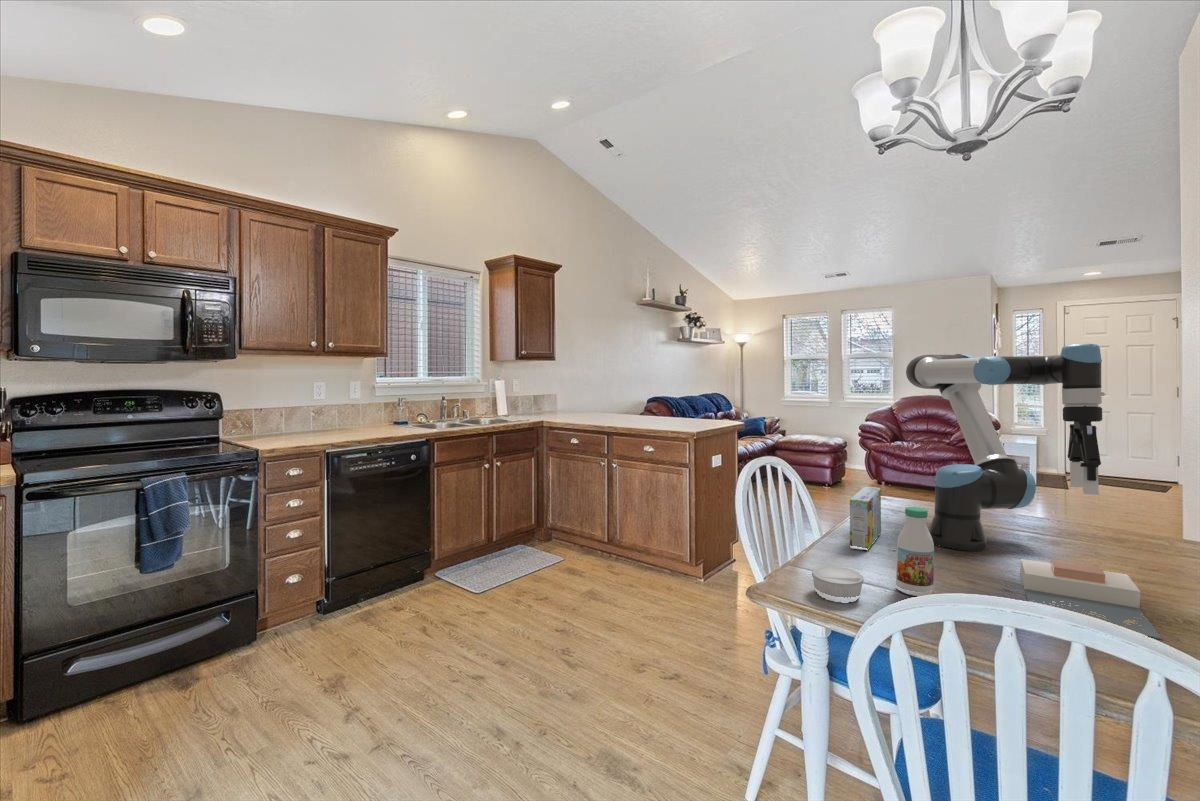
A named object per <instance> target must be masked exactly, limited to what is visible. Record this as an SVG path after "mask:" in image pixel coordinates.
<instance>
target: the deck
mask: <svg viewBox="0 0 1200 801" xmlns="http://www.w3.org/2000/svg"><path fill="white" fill-rule="evenodd" d="M1050 567H1051V562H1044V561H1038V560H1033V559H1032V560H1031V559H1025V558H1021V559H1020V573H1019V574H1020V579H1021V578H1022V579H1021V582H1022V585H1023V588H1024V590H1025V589H1029V590H1035V591H1041V592H1047V593H1053V594H1059V595H1065V596H1071V597H1077V598H1083V599H1088V600H1094V601H1100V602H1106V603H1112V604H1118V605H1124V606H1130V607H1136V608H1140V607H1141V606H1140V605H1141V590H1140V589H1139V588H1138V586H1137V585H1136V584H1135V583H1134V581H1133V580H1132V579H1131V578H1130V576H1129V575H1128V574H1127V573H1121V572H1115V571H1113V572H1112V571H1107V570H1102V571H1103V572H1104V574H1105V583H1099V582H1093V581H1086V580H1080V579H1073V578H1067V577H1060V576H1054V575H1053V572H1052V570H1051V568H1050ZM1140 609H1141V608H1140Z"/></svg>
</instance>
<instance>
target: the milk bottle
mask: <svg viewBox="0 0 1200 801" xmlns="http://www.w3.org/2000/svg"><path fill="white" fill-rule="evenodd" d="M904 512H905V513H904V514H905V516H904V517H905V522H904V525H903V527H902V529H901V531H900V532H899V535H898V538H897V544H896V545H897V546H896V561H895V562H896V563H895V564H896V567H895V568H896V570H895V586H896V585H897V586H898V587H900V588H902V589H905V590H909V591H915V592H926V591H930V590H932V589H933V590H934V579H935V578H934V577H935V575H934V574H935V546H934V545H935V544H934V543H933V539H932V537H931V535H930V532H929V527H928V525H927V520H928V513H929V512H928V509H927V508H924V507H920V506H907V507H905V509H904Z"/></svg>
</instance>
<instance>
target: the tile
mask: <svg viewBox="0 0 1200 801" xmlns="http://www.w3.org/2000/svg"><path fill="white" fill-rule="evenodd" d="M1050 563H1051V567H1050V568H1051V570H1052V572H1053V575H1054V576H1060V577H1067V578H1073V579H1080V580H1086V581H1093V582H1099V583H1105V574H1104V572H1103V571H1104V570H1103V569H1102V568H1101V566H1098V565H1096V566H1095V565H1090V564H1085V563H1076V562H1070V561H1065V560H1064V561H1063V560H1056V559H1055V560H1054V559H1050Z"/></svg>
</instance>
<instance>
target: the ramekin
mask: <svg viewBox="0 0 1200 801" xmlns="http://www.w3.org/2000/svg"><path fill="white" fill-rule="evenodd" d="M811 577H812V579H813V580H812V582H813V586H814V587H815V588H816V589H817V590H819V591H820V592H822V593H825V594H828V595H831V596H835V597H844V598H845V597H847V598H848V597H850V598H851V597H856V596H859V595H860V596H861V594H862V593H861V592H862V588H863V584H864V580H865V579H864V576H863V575H862V574H861V573H860V572H858V571H856V570H854V569H851V568H848V567H845V566H844V567H843V566H838V565H837V566H836V565H820V566H817V567H815V568H813V569H812V571H811ZM814 587H813V588H814ZM815 588H814V589H815Z"/></svg>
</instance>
